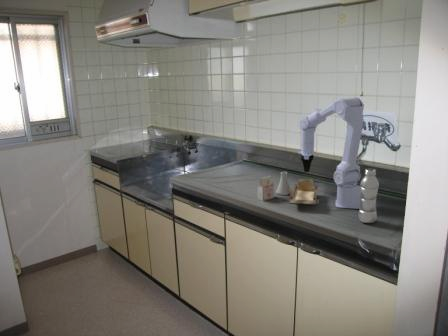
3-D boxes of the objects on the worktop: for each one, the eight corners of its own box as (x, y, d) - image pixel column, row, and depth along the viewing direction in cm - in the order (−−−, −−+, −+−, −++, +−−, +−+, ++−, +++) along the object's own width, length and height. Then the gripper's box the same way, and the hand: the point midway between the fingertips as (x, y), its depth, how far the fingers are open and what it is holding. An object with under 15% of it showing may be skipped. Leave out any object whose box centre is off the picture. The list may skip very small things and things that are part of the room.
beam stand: (318, 200, 165) (318, 196, 164) (318, 205, 159) (318, 200, 159) (290, 199, 168) (290, 194, 167) (289, 203, 162) (289, 198, 162)
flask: (281, 189, 181) (281, 169, 179) (294, 192, 177) (294, 171, 175) (273, 193, 176) (273, 173, 174) (286, 196, 172) (286, 175, 169)
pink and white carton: (257, 199, 170) (257, 177, 167) (268, 195, 173) (268, 174, 171) (262, 201, 167) (262, 179, 164) (274, 197, 170) (274, 176, 168)
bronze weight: (312, 187, 172) (312, 179, 171) (312, 191, 166) (312, 182, 165) (299, 187, 173) (299, 178, 173) (298, 190, 168) (298, 181, 167)
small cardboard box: (317, 191, 172) (317, 184, 172) (315, 204, 151) (316, 197, 151) (294, 189, 175) (294, 183, 174) (289, 202, 154) (289, 195, 153)
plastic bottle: (357, 224, 139) (360, 171, 134) (358, 217, 145) (361, 166, 140) (376, 226, 136) (380, 172, 132) (376, 219, 142) (380, 167, 138)
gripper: (299, 139, 182) (299, 167, 185) (297, 145, 168) (297, 174, 171) (315, 139, 180) (314, 167, 183) (313, 145, 166) (312, 175, 170)
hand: (306, 171), depth 177 cm, fingers closed
